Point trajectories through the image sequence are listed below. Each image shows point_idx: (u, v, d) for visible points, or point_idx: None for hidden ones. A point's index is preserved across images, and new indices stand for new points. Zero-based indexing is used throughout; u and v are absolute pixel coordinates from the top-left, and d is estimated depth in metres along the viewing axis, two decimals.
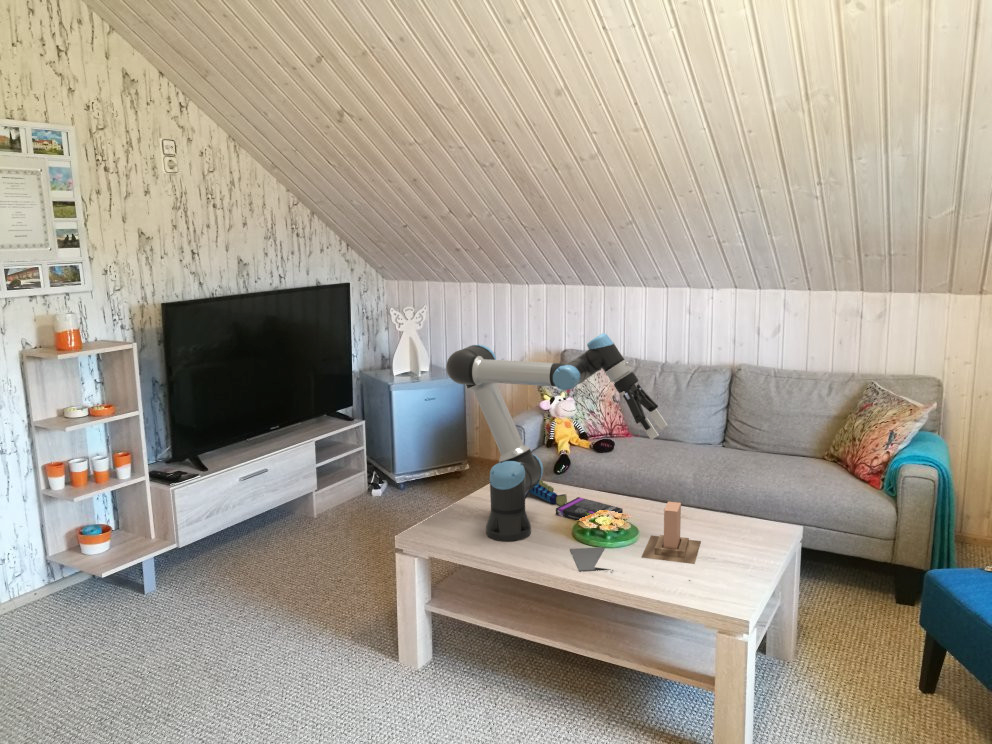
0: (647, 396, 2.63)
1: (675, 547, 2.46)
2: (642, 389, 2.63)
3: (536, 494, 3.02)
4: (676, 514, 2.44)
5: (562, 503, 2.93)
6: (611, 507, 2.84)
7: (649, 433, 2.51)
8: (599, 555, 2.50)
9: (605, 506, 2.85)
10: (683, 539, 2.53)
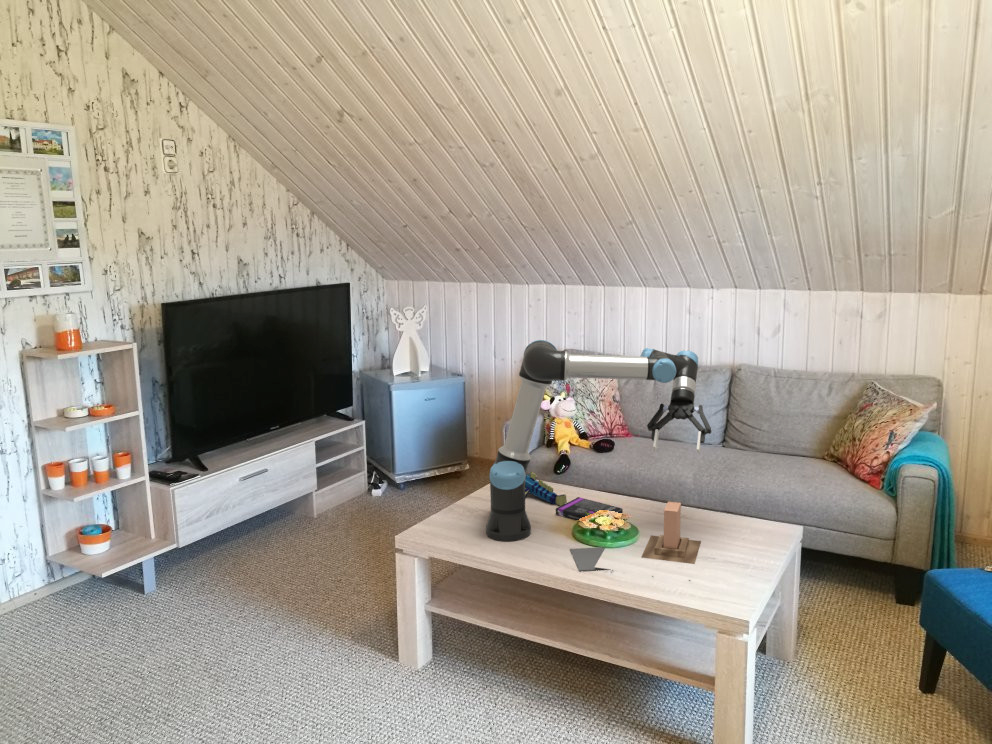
0: None
1: (675, 547, 2.46)
2: None
3: (536, 494, 3.02)
4: (676, 514, 2.44)
5: (562, 503, 2.93)
6: (611, 507, 2.84)
7: (699, 445, 2.52)
8: (599, 555, 2.50)
9: (605, 506, 2.85)
10: (683, 539, 2.53)
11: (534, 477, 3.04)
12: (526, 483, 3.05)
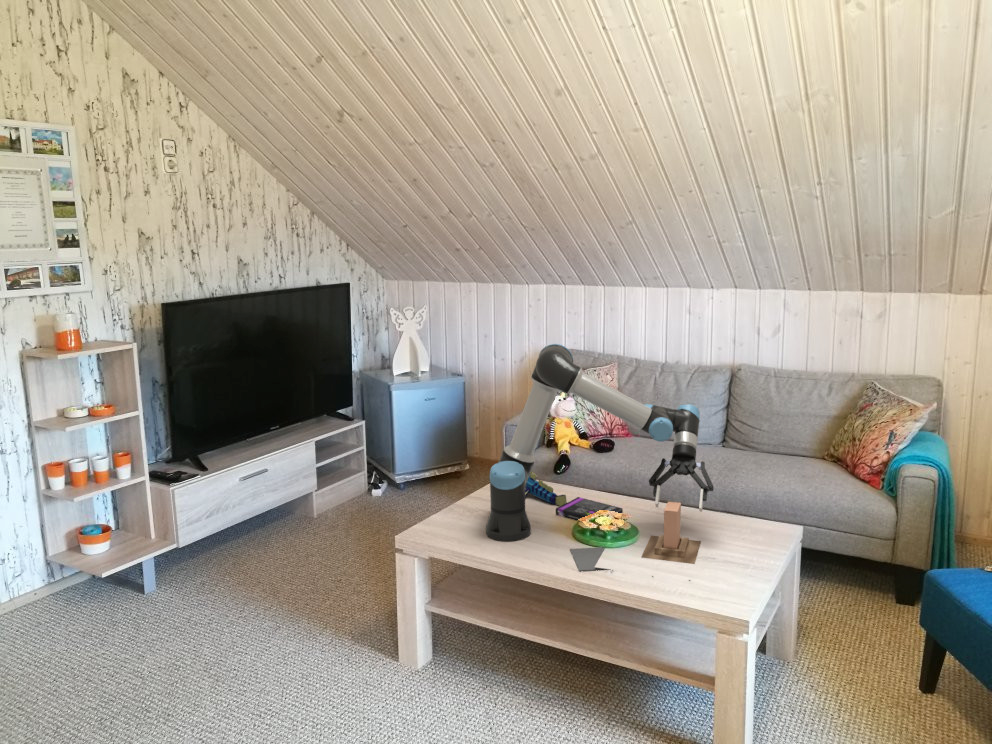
0: None
1: (675, 547, 2.46)
2: None
3: (536, 494, 3.02)
4: (676, 514, 2.44)
5: (562, 503, 2.93)
6: (611, 507, 2.84)
7: (702, 503, 2.51)
8: (599, 555, 2.50)
9: (605, 506, 2.85)
10: (683, 539, 2.53)
11: (534, 477, 3.04)
12: None
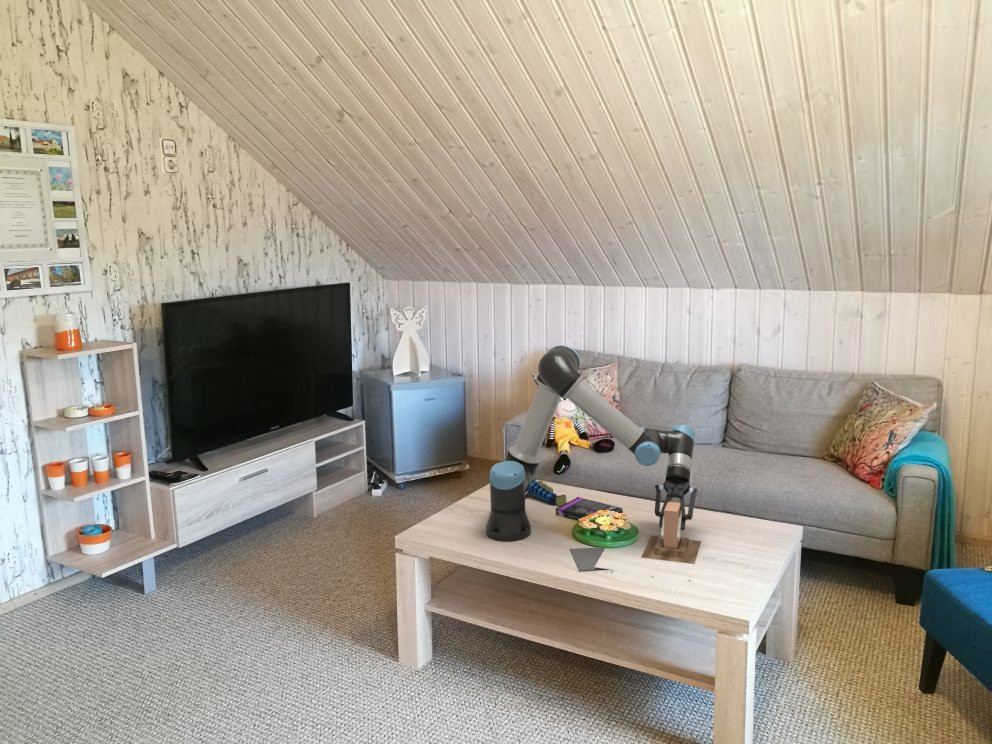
0: None
1: (675, 547, 2.46)
2: None
3: (536, 495, 3.01)
4: (676, 514, 2.44)
5: (561, 504, 2.93)
6: (611, 507, 2.85)
7: (679, 532, 2.46)
8: (599, 555, 2.50)
9: (605, 506, 2.85)
10: (683, 539, 2.53)
11: None
12: None
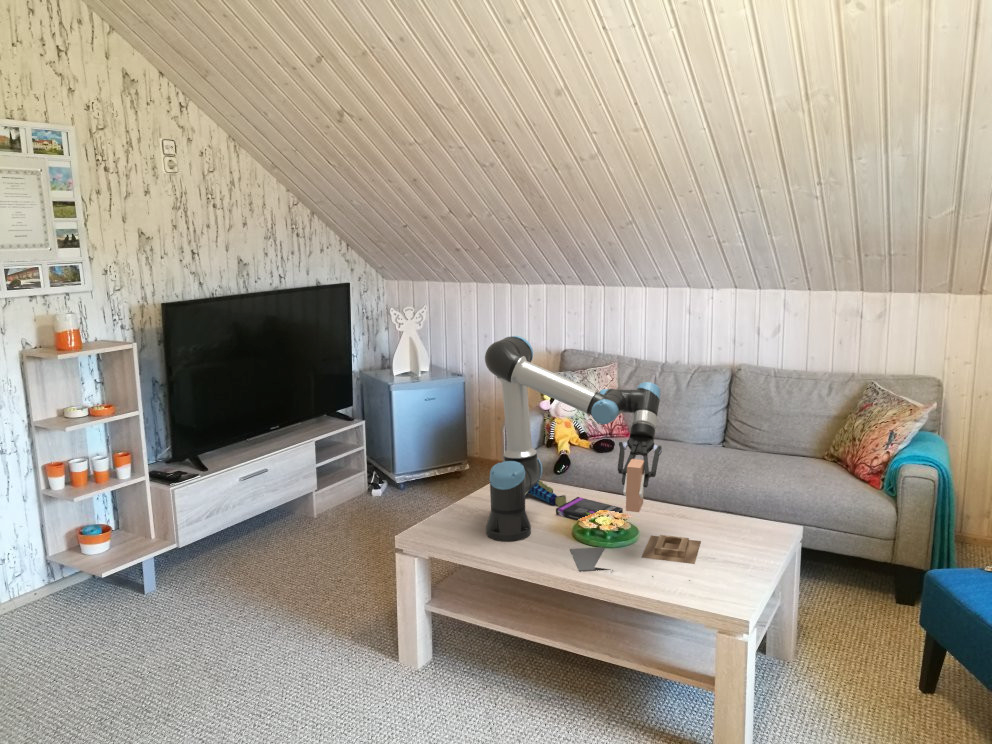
0: (623, 459, 2.50)
1: (637, 504, 2.41)
2: None
3: (536, 495, 3.01)
4: (639, 470, 2.39)
5: (561, 504, 2.92)
6: (611, 507, 2.85)
7: (642, 489, 2.40)
8: (599, 555, 2.50)
9: (605, 506, 2.85)
10: (683, 539, 2.53)
11: None
12: None
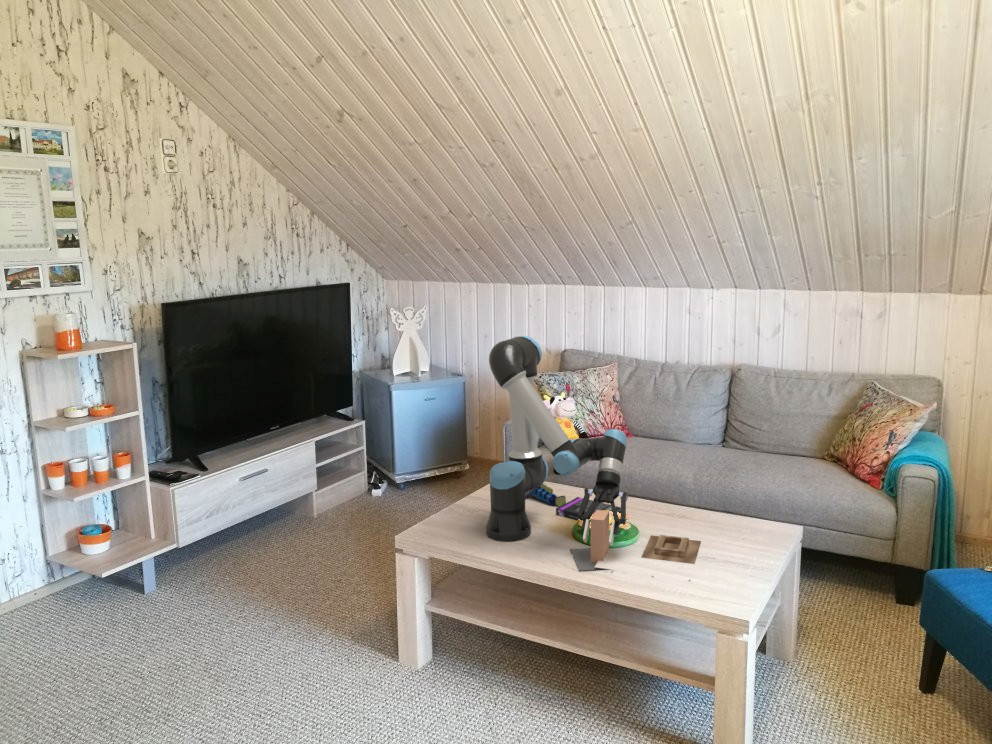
0: None
1: (602, 556, 2.43)
2: None
3: (535, 495, 3.01)
4: (602, 523, 2.41)
5: (561, 504, 2.92)
6: None
7: (612, 537, 2.43)
8: None
9: (605, 506, 2.86)
10: (683, 539, 2.53)
11: None
12: None
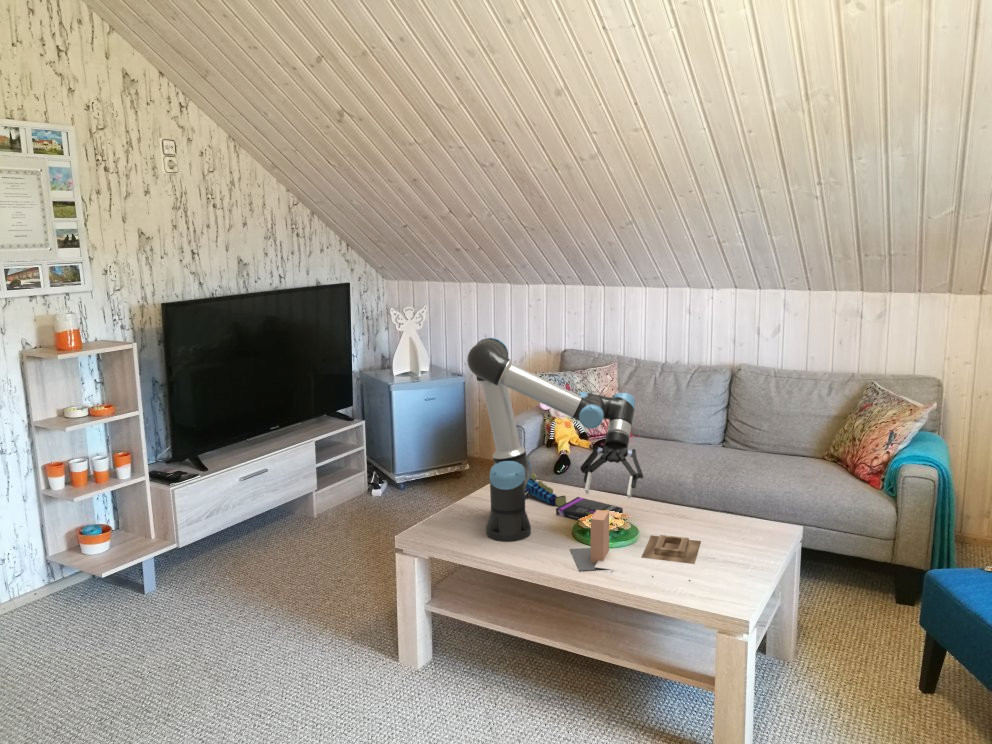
0: None
1: (602, 556, 2.43)
2: None
3: (535, 495, 3.01)
4: (602, 523, 2.41)
5: (561, 504, 2.92)
6: (611, 506, 2.85)
7: (630, 490, 2.52)
8: None
9: (605, 506, 2.86)
10: (683, 539, 2.53)
11: (534, 478, 3.03)
12: None
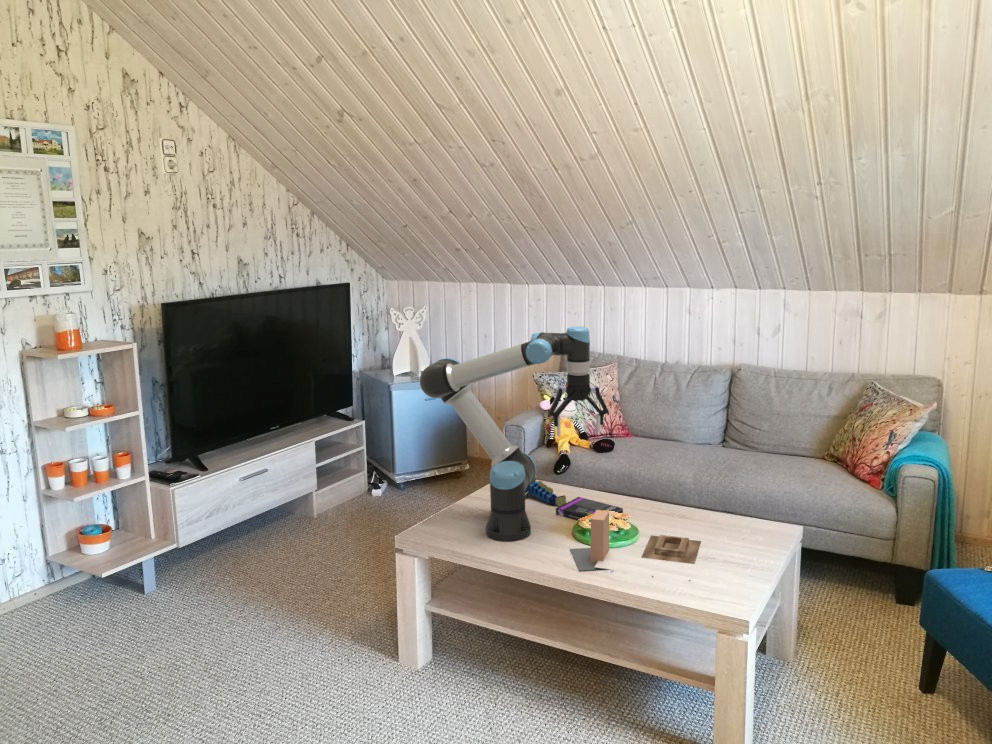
0: None
1: (602, 556, 2.43)
2: (557, 393, 2.69)
3: (536, 495, 3.01)
4: (602, 523, 2.41)
5: (561, 504, 2.92)
6: (611, 507, 2.85)
7: None
8: None
9: (605, 506, 2.85)
10: (683, 539, 2.53)
11: (534, 478, 3.03)
12: None
